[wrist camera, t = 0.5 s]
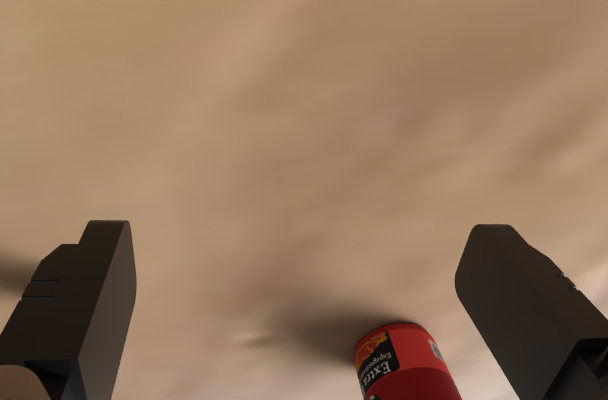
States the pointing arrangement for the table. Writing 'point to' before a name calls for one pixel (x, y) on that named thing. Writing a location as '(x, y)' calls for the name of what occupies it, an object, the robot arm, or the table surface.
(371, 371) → the canned food
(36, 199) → the table surface
